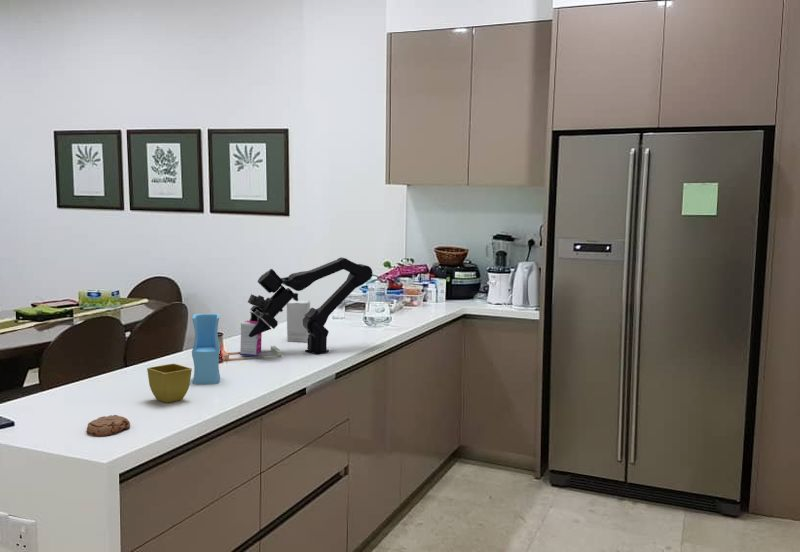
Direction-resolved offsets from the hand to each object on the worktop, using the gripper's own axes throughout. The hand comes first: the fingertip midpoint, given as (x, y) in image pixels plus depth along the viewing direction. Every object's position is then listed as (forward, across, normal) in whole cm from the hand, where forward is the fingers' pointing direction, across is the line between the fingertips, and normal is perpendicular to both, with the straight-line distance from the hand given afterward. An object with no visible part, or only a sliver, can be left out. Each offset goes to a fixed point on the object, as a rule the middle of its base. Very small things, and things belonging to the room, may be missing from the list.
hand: (246, 334), depth 257 cm
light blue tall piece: (+19, +29, -8) cm, 36 cm away
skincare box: (-12, -21, +23) cm, 34 cm away
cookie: (+40, +68, -28) cm, 84 cm away
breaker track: (+5, 0, +6) cm, 8 cm away
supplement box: (+4, 0, +6) cm, 7 cm away
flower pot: (+28, +47, -17) cm, 57 cm away
